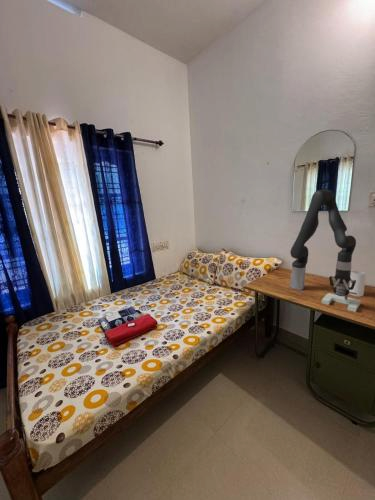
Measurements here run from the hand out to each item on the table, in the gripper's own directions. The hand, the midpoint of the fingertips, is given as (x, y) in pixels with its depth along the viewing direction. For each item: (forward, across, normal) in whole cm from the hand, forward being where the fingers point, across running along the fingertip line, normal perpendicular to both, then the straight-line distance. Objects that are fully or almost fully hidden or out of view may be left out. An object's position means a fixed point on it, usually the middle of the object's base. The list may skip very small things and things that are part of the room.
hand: (340, 293), depth 136 cm
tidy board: (+8, 0, +3) cm, 8 cm away
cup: (+8, +4, +26) cm, 28 cm away
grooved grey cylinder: (+1, 0, 0) cm, 1 cm away
